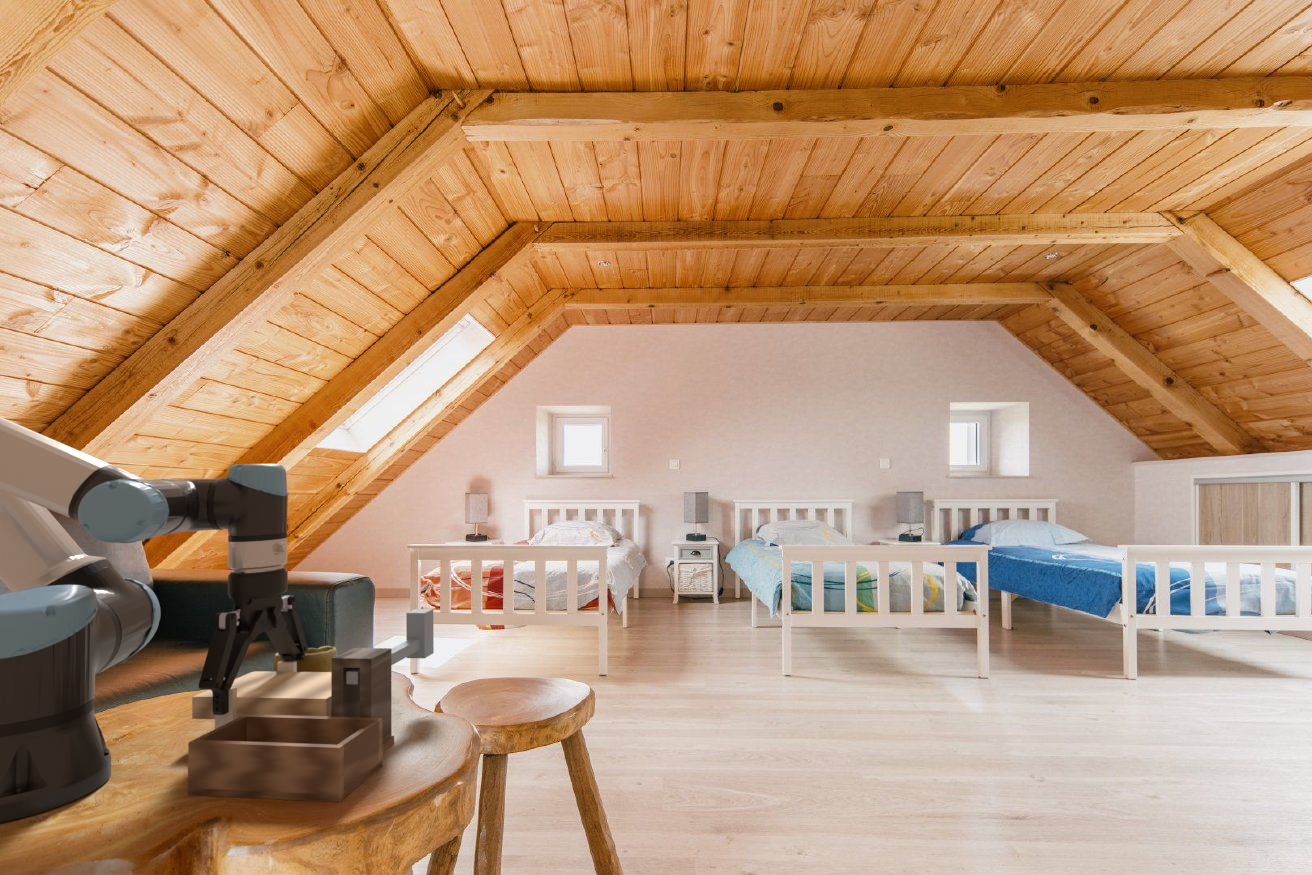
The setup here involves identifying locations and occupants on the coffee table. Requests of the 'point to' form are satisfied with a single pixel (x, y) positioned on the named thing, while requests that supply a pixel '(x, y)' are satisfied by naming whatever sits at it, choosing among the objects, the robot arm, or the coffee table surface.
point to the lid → (274, 695)
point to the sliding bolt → (408, 641)
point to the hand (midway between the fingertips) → (258, 719)
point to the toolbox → (303, 742)
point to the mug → (313, 660)
